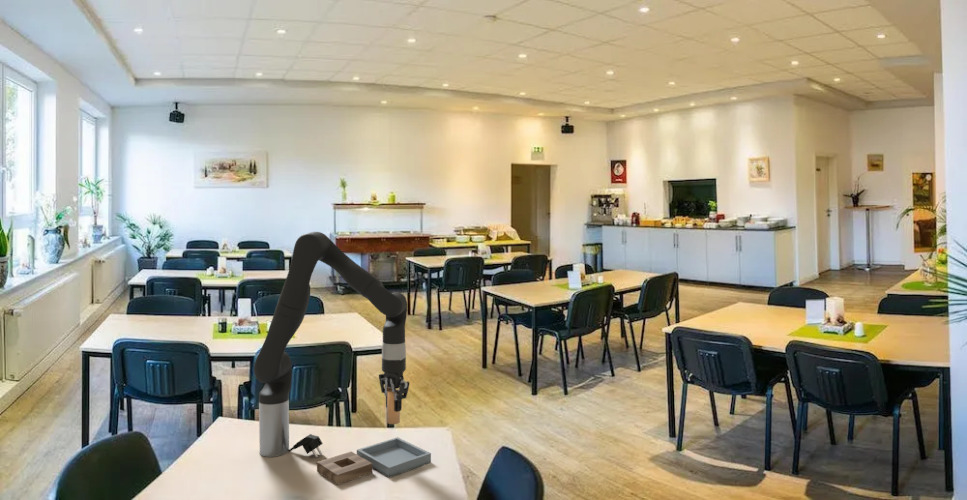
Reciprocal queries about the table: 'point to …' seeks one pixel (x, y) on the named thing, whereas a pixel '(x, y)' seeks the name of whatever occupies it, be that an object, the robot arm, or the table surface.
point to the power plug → (309, 444)
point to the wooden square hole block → (344, 467)
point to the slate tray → (394, 456)
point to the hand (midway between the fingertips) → (393, 408)
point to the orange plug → (392, 409)
